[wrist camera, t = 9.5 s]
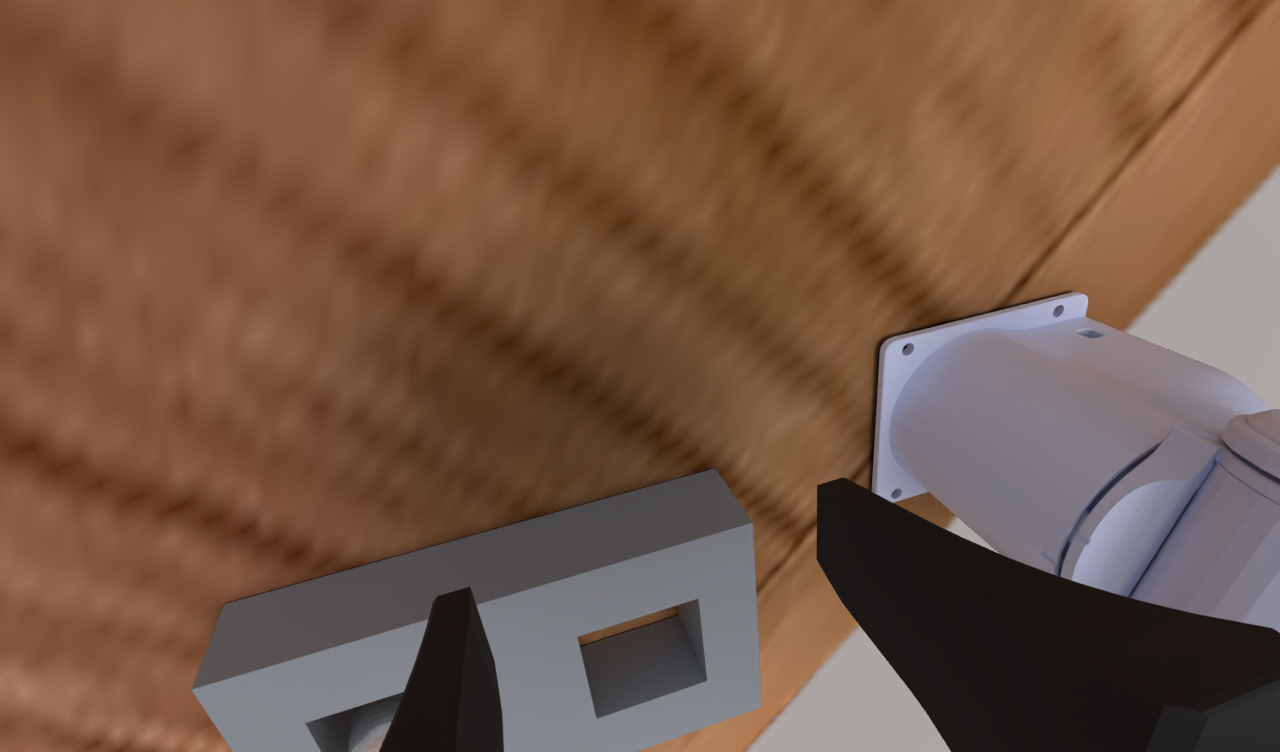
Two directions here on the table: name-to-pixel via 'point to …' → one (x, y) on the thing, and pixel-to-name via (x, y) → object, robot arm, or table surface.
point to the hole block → (516, 629)
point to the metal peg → (372, 723)
